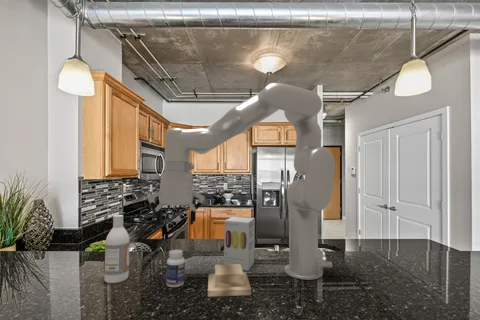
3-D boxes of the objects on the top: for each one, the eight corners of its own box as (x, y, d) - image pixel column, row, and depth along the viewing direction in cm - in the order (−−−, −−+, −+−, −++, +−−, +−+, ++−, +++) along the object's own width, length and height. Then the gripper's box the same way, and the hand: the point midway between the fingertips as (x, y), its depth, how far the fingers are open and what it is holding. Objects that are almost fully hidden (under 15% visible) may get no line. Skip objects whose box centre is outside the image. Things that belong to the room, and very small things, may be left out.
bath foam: (127, 282, 78) (129, 216, 79) (102, 285, 76) (104, 217, 77) (129, 273, 85) (130, 213, 86) (105, 276, 82) (107, 214, 83)
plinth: (245, 277, 82) (246, 261, 83) (251, 294, 70) (251, 276, 71) (208, 278, 81) (208, 262, 81) (207, 296, 69) (207, 278, 69)
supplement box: (222, 268, 90) (223, 220, 91) (231, 259, 99) (231, 216, 100) (248, 271, 87) (249, 221, 88) (255, 262, 96) (255, 217, 97)
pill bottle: (179, 288, 74) (180, 254, 74) (162, 286, 75) (163, 253, 76) (187, 280, 79) (187, 249, 80) (171, 279, 80) (171, 248, 81)
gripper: (205, 168, 84) (204, 221, 83) (151, 168, 82) (150, 221, 81) (204, 168, 76) (203, 226, 75) (145, 167, 74) (143, 226, 73)
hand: (175, 223), depth 78 cm, fingers open, 9 cm apart
